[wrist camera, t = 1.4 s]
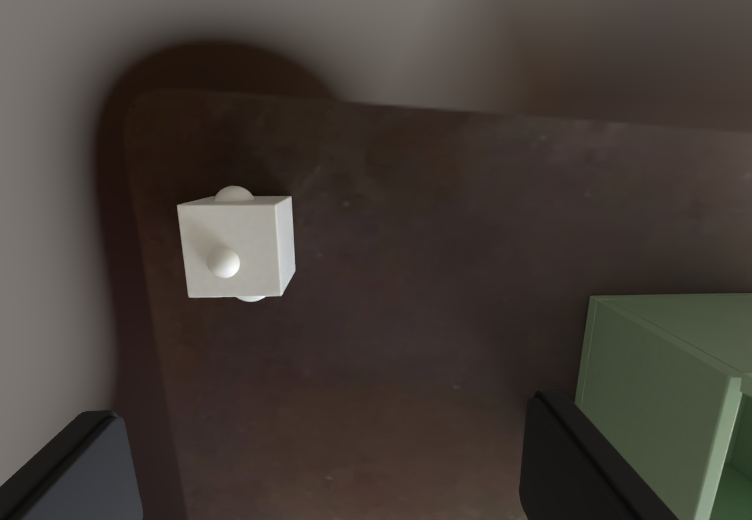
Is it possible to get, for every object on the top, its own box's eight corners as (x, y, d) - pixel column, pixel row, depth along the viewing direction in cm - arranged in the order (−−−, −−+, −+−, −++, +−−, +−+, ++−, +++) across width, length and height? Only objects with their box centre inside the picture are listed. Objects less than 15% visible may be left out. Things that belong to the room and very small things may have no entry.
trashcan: (727, 463, 29) (905, 608, 20) (564, 469, 29) (667, 622, 19) (772, 292, 26) (1013, 367, 16) (589, 295, 25) (730, 375, 16)
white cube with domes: (210, 184, 22) (168, 190, 17) (290, 183, 23) (272, 189, 18) (220, 286, 24) (185, 319, 19) (296, 285, 24) (280, 317, 19)
